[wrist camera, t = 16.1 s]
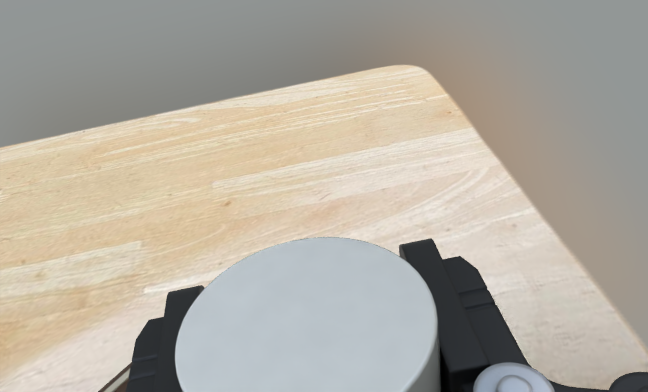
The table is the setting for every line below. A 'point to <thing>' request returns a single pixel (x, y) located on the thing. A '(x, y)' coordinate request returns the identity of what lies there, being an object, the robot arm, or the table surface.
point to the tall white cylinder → (312, 323)
